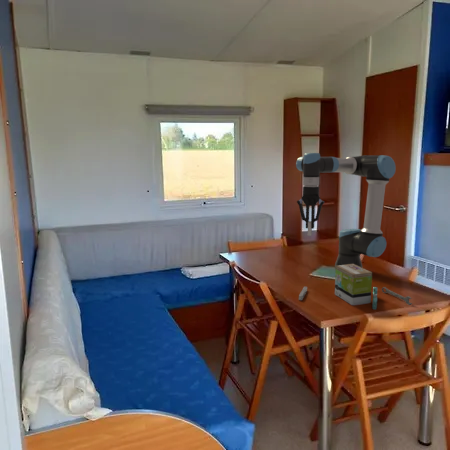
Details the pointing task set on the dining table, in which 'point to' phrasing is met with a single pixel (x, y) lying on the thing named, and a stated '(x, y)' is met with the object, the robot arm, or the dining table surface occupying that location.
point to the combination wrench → (397, 295)
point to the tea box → (353, 284)
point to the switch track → (374, 305)
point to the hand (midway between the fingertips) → (309, 235)
